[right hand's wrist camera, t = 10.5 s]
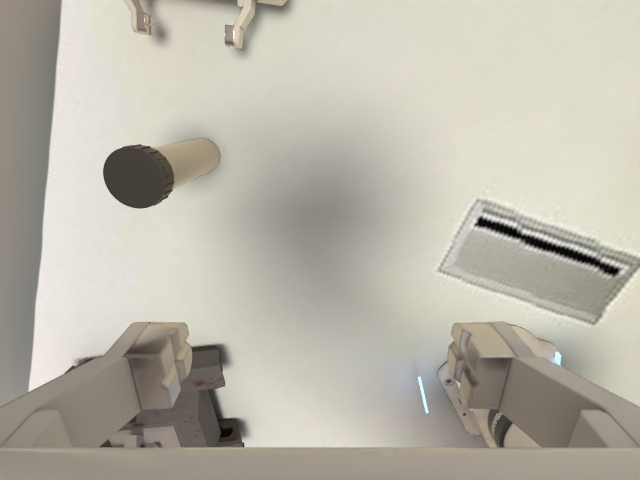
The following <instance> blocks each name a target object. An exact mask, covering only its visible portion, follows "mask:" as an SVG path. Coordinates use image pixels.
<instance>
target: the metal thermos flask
mask: <svg viewBox="0 0 640 480" xmlns="http://www.w3.org/2000/svg"><path fill="white" fill-rule="evenodd" d="M153 148H154V149H155V150H159V152H160V153H161V154H162V155H164V156H165V157H166V159H167V160H168V161H169V163H170V165H172V166H171V167H172V169H173V173H174V182H175V183H174V185H173V189H175V188H177V187H179V186H181V185H183V184H185V183H187V182H189V181H191V180H193V179H195V178H197V177H199V176H201V175H203V174H205V173H207V172H209V171H211V170H213V169H215V168H216V167H217V166H218V164H219V161H220V152H219V149H218V147H217V146H216V145H215V144H214V143H213V142H212V141H210V140H208V139H204V138H200V139H195V140H189V141H184V142H179V143H174V144H169V145H163V146H158V147H153ZM173 189H172V190H173Z"/></svg>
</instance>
